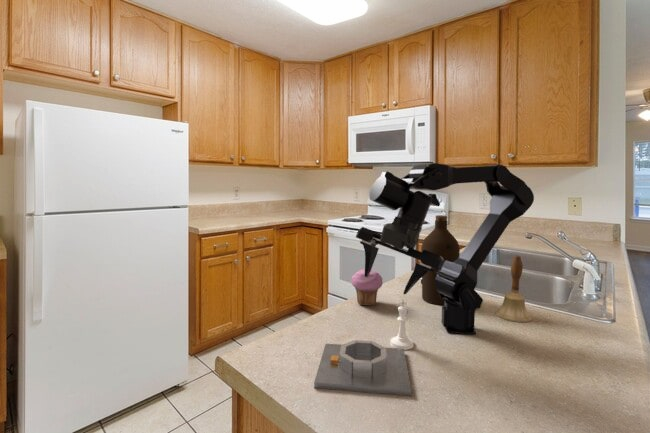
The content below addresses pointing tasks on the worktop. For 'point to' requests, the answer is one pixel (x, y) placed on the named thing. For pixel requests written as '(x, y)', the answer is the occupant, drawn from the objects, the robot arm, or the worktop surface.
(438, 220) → the olive oil
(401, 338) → the chess piece
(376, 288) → the cupcake
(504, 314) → the hand bell
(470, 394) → the worktop surface
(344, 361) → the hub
